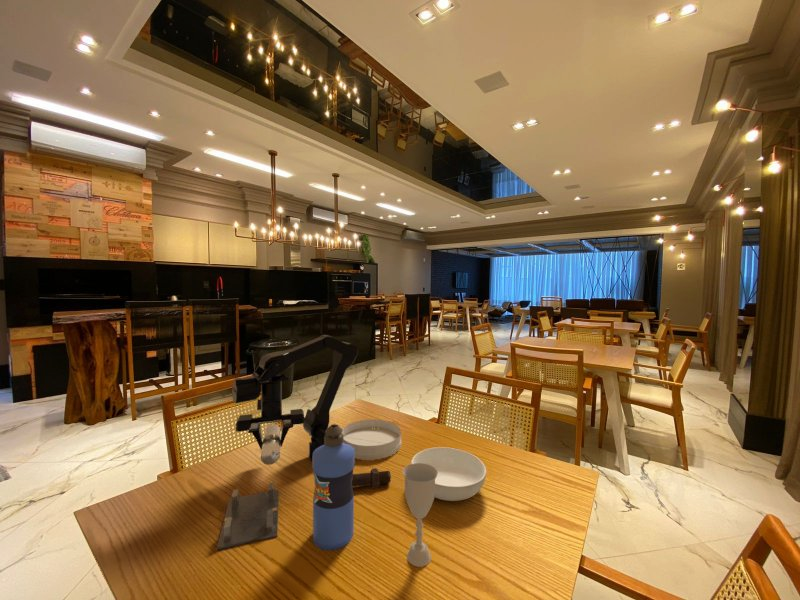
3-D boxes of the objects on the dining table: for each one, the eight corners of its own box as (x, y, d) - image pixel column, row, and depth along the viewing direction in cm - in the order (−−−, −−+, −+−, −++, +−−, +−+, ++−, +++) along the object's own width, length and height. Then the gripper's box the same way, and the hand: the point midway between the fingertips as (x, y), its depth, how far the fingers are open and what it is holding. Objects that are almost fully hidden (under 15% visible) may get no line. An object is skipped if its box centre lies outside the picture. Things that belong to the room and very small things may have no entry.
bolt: (390, 491, 93) (336, 497, 89) (387, 473, 97) (336, 479, 93) (393, 479, 90) (338, 485, 86) (390, 462, 94) (337, 467, 90)
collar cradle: (278, 491, 88) (278, 478, 88) (277, 536, 72) (277, 520, 72) (229, 501, 84) (229, 487, 84) (216, 550, 68) (216, 533, 68)
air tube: (281, 437, 106) (280, 422, 106) (280, 462, 91) (279, 444, 91) (264, 441, 104) (263, 425, 104) (261, 466, 89) (259, 448, 89)
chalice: (436, 545, 70) (437, 464, 70) (436, 572, 64) (438, 482, 63) (403, 542, 71) (403, 462, 71) (400, 568, 64) (400, 480, 64)
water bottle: (336, 514, 80) (336, 414, 79) (362, 532, 74) (363, 425, 73) (303, 536, 73) (304, 426, 72) (330, 558, 67) (330, 439, 66)
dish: (328, 454, 109) (328, 440, 109) (355, 428, 130) (355, 416, 130) (390, 466, 103) (390, 450, 102) (408, 436, 124) (408, 423, 124)
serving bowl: (488, 519, 79) (489, 491, 79) (404, 506, 83) (404, 480, 83) (483, 472, 99) (484, 450, 99) (416, 464, 103) (416, 443, 103)
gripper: (302, 386, 108) (302, 432, 108) (240, 391, 101) (240, 440, 102) (304, 396, 97) (304, 447, 98) (235, 403, 91) (235, 457, 91)
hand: (271, 447), depth 97 cm, fingers closed on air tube, 5 cm apart
